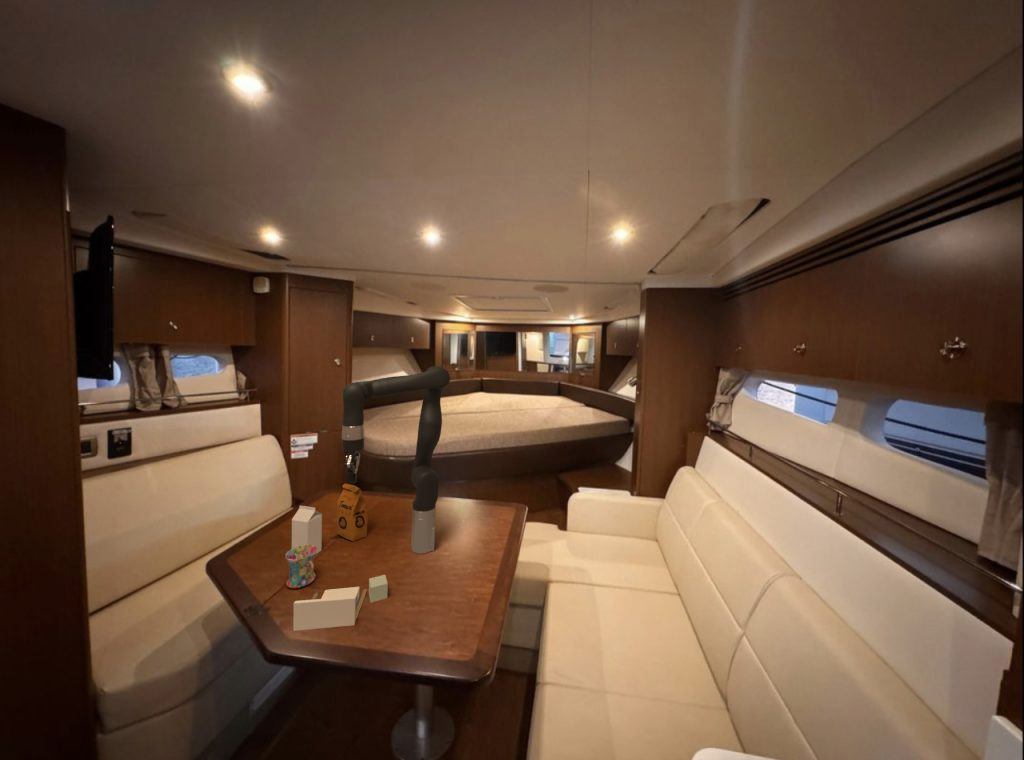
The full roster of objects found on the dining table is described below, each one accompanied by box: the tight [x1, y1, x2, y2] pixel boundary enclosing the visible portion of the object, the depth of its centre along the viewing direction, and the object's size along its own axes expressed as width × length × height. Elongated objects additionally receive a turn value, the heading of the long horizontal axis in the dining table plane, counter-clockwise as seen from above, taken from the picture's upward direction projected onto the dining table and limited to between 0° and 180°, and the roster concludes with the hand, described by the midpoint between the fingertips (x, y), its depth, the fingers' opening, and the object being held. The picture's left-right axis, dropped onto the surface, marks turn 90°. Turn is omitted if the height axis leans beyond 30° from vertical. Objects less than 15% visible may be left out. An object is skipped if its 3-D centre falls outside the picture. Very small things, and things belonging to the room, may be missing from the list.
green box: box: [368, 574, 389, 604], centre depth 108 cm, size 5×5×5 cm
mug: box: [284, 545, 317, 589], centre depth 112 cm, size 12×9×11 cm
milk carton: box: [291, 505, 323, 556], centre depth 129 cm, size 7×7×19 cm
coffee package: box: [336, 483, 369, 543], centre depth 144 cm, size 10×12×22 cm
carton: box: [320, 586, 361, 610], centre depth 101 cm, size 10×8×4 cm
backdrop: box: [292, 596, 356, 632], centre depth 95 cm, size 16×1×8 cm, turn 100°
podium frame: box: [310, 588, 368, 622], centre depth 102 cm, size 16×13×1 cm
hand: (352, 482), depth 124 cm, fingers closed
